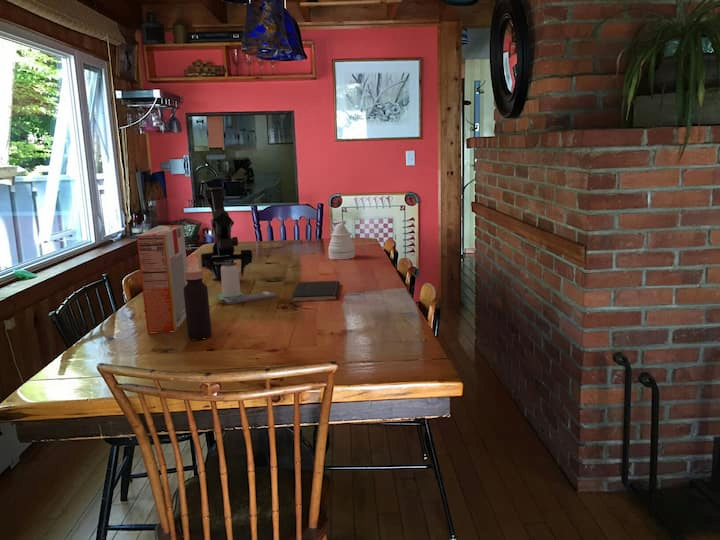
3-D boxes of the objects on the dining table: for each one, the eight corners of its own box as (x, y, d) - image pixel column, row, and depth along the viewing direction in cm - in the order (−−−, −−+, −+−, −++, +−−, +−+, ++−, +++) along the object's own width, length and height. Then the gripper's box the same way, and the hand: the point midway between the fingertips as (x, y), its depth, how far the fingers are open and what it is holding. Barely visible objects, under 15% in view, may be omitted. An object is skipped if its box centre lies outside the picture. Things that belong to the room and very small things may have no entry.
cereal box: (168, 313, 205) (158, 225, 199) (191, 311, 205) (183, 224, 199) (147, 333, 183) (136, 236, 176) (174, 332, 183) (164, 234, 177)
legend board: (227, 304, 213) (227, 300, 213) (223, 300, 218) (223, 297, 218) (276, 297, 221) (275, 293, 221) (271, 293, 226) (270, 290, 226)
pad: (217, 295, 227) (217, 294, 227) (241, 292, 229) (241, 292, 229) (219, 300, 218) (219, 300, 218) (244, 298, 221) (244, 297, 221)
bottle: (190, 342, 173) (183, 274, 169) (186, 335, 179) (180, 270, 175) (213, 338, 175) (207, 271, 171) (209, 332, 182) (203, 267, 177)
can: (244, 295, 224) (241, 263, 222) (229, 298, 220) (226, 266, 217) (233, 292, 228) (231, 262, 226) (219, 296, 224) (216, 264, 221)
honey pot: (360, 256, 296) (358, 219, 292) (345, 260, 285) (343, 223, 281) (338, 254, 303) (336, 218, 299) (323, 258, 292) (321, 222, 288)
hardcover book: (292, 302, 214) (291, 296, 214) (299, 287, 237) (299, 282, 236) (336, 301, 214) (336, 295, 213) (339, 286, 236) (339, 280, 236)
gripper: (198, 232, 220) (203, 267, 212) (249, 228, 226) (256, 262, 218) (199, 249, 229) (203, 284, 221) (248, 245, 235) (254, 278, 227)
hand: (229, 276), depth 221 cm, fingers open, 9 cm apart
